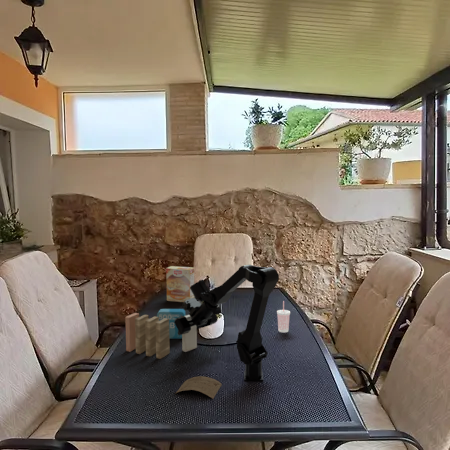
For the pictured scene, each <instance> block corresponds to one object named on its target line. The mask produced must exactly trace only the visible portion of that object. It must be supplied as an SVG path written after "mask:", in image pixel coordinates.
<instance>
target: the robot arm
mask: <svg viewBox="0 0 450 450" xmlns="http://www.w3.org/2000/svg"><path fill="white" fill-rule="evenodd" d="M279 275H280V274H279V273H278V271H277V270H276V268H274V267H271V266H270V267H264V266H257V265H253V264H245V265H240V266H239V268H238V269H237V270H236V271H235V272H234V273H233V274H232V275H231V276H230V277H228V279H227V280H225V281H224V282H223V283H222V284H221V285H218V286H217V287H214V288H212V289H211V290H209V288H208V286H207V284H206V282H205V280H204V279H200V280H198V281H197V282H194V284H193V285H192V286H191V287H190V289H191V291H192V293H193V295H194V298H191V299H187V300H186V301H184V302H182V304H181V307H182V309H184V310H185V311H188V315H190V317H191V319H192V320H189V321H188V320H187V319H186V317H185V316H182V317H179V318H176V320H175V321H174V323H175V325H176V327H177V329H178V335H182V334H186V333H188V332H189V331H190V330H191V327H192V326H195V325H196V326H197V330H199V329H202V328H203V329H204V328H205V327H209V326H212V325H214V324H216V323H217V322H218V316H217V315H220V314H221V313H222V310H221V306H220V305H221V304H225V303H227V302H228V301H229V300H230V298H231V297H232V294H233V292H234V291H235V290H237V289H238V288H239V287H240V286H241V285H242V284H243V283H245V282H246V281H248V282H250V283H252V285H251V286H252V289H253V291H254V294H253V297H252V302H251V305H250V310H249V315H248V319H247V324H246V327H245V329H244V330H242V331H239V332H238V334H237V340H236V341H235V343H236V349H237V353H238V356H239V360H240V362H242V363H243V364H244V369H245V370H244V371H243V378H244V379H243V380H244V381H245V382H246V381H248V382H251V381H253V382H263V381H264V373H263V371H262V370H263V368H262V367H263V365H262V364H263V361H262V360H263V359H266V358H267V357H268V354H269V353H268V351H267V349H266V347H264V344H263V336H262V333H261V329H262V324H263V322H264V317H265V312H266V308H267V305H268V301H269V298H270V295H271V293H272V292H273V290H274V289H275V288H276V286H277V284H278V282H279V278H280V276H279Z"/></svg>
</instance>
